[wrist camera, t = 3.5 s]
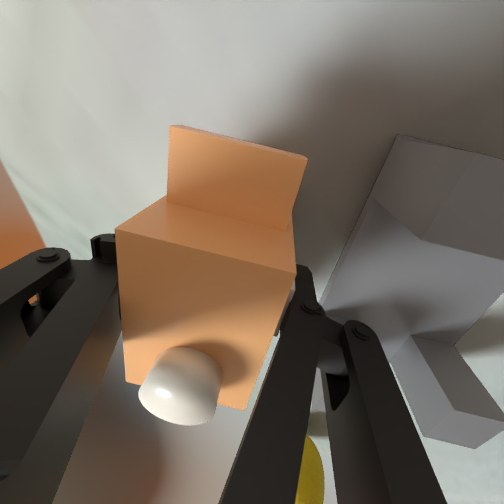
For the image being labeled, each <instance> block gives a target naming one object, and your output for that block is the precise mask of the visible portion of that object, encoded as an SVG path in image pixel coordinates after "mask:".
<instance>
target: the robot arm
mask: <svg viewBox="0 0 504 504" xmlns="http://www.w3.org/2000/svg"><path fill="white" fill-rule="evenodd" d="M90 240H91V248H92V255H93V258H92V259H91V260H71V256H70V253H69V252H68V251H67V250H65V249H62V248H44V249H40V250H37V251H35V252H32V253H30V254H28V255H26V256H24V257H22V258H21V259H19V260H17V261H15V262H13V263H12V264H10V265H8V266H6V267H4V268H2V269H0V504H52V502H53V500H54V497H55V495H56V492H57V490H58V487H59V485H60V482H61V480H62V477H63V475H64V472H65V470H66V467H67V465H68V462H69V460H70V457H71V455H72V452H73V450H74V447H75V445H76V442H77V440H78V437H79V435H80V433H81V430H82V427H83V425H84V423H85V420H86V418H87V415H88V412H89V410H90V408H91V405H92V403H93V400H94V398H95V395H96V393H97V390H98V388H99V385H100V383H101V380H102V378H103V375H104V373H105V370H106V368H107V365H108V363H109V360H110V358H111V355H112V353H113V350H114V348H115V345H116V343H117V340H118V338H119V335H120V333H121V331H122V321H121V308H120V294H119V281H118V267H117V254H116V241H115V234H101V235H98V236H95V237H93V238H92V239H90ZM296 272H297V274H296V277H295V280H294V282H293V285H292V287H291V290H290V293H289V295H288V298H287V301H286V303H285V306H284V309H283V311H282V314H281V317H280V319H279V322H278V324H277V327H276V330H275V332H274V335H273V336H278V333H279V331H280V338H279V341H278V343H277V346H276V348H275V351H274V353H273V357H272V359H271V362H270V365H269V367H268V370H267V373H266V376H265V378H264V381H263V384H262V386H261V389H260V392H259V395H258V397H257V400H256V403H255V405H254V408H253V411H252V414H251V416H250V419H249V422H248V424H247V427H246V430H245V432H244V435H243V438H242V441H241V444H240V446H239V449H238V451H237V454H236V457H235V460H234V462H233V465H232V468H231V470H230V473H229V476H228V479H227V481H226V484H225V487H224V489H223V492H222V495H221V498H220V500H219V503H218V504H295V500H296V494H297V488H298V481H299V475H300V469H301V463H302V456H303V450H304V444H305V438H306V431H307V425H308V419H309V413H310V406H311V400H312V394H313V388H314V381H315V375H316V369H317V368H319V369H320V372H321V380H322V388H323V395H324V403H325V411H326V418H327V426H328V434H329V441H330V449H331V457H332V464H333V471H334V480H335V487H336V495H337V503H338V504H447V502H446V500H445V497H444V495H443V492H442V490H441V488H440V485H439V483H438V480H437V478H436V476H435V473H434V471H433V468H432V466H431V463H430V461H429V459H428V456H427V454H426V451H425V449H424V447H423V444H422V442H421V439H420V437H419V435H418V432H417V430H416V427H415V425H414V423H413V420H412V418H411V415H410V413H409V411H408V408H407V406H406V403H405V401H404V399H403V396H402V394H401V391H400V389H399V387H398V384H397V382H396V379H395V377H394V374H393V372H392V370H391V367H390V365H389V362H388V360H387V358H386V355H385V353H384V350H383V348H382V346H381V343H380V341H379V338H378V336H377V335H376V333H375V332H374V331H373V330H372V329H371V328H370V327H369V326H367V325H366V324H364V323H362V322H360V321H357V320H348V321H346V323H345V324H344V325H342V324H340V323H338V322H336V321H334V320H332V319H330V318H328V317H327V316H326V315H325V310H324V309H323V307H322V306H321V305H320V304H319V303H318V302H317V299H316V294H315V288H314V282H313V277H312V273H311V271H310V270H309V269H308V267H306V266H302V265H298V264H296ZM34 295H36V297H37V301H35V302H34V303H32V304H29V301H28V300H29V299H30V298H31V297H33V296H34Z"/></svg>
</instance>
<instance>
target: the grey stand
mask: <svg viewBox="0 0 504 504" xmlns="http://www.w3.org/2000/svg"><path fill="white" fill-rule="evenodd" d="M503 292H504V160H503V159H500V158H496V157H492V156H488V155H484V154H480V153H475V152H469V151H465V150H461V149H457V148H453V147H449V146H445V145H441V144H437V143H433V142H429V141H425V140H421V139H417V138H413V137H409V136H405V135H399V134H398V135H397V137H396V139H395V141H394V144H393V146H392V148H391V150H390V152H389V154H388V156H387V158H386V161H385V163H384V165H383V167H382V169H381V171H380V173H379V175H378V178H377V180H376V182H375V184H374V186H373V188H372V190H371V193H370V195H369V197H368V199H367V201H366V203H365V205H364V207H363V210H362V212H361V214H360V216H359V218H358V220H357V222H356V224H355V227H354V229H353V231H352V233H351V235H350V237H349V239H348V242H347V244H346V246H345V248H344V250H343V252H342V254H341V256H340V259H339V261H338V263H337V265H336V267H335V269H334V271H333V273H332V276H331V278H330V280H329V282H328V284H327V286H326V288H325V290H324V293H323V295H322V297H321V299H320V301H319V304H320V305H321V306H322V307H323V309H324V310H325V315H326V316H327V317H328V318H330V319H332V320H334V321H336V322H338V323H340V324H342V325H344V324H345V323H346V321H348V320H357V321H360V322H362V323H364V324H366V325H367V326H369V327H370V328H371V329H372V330H373V331H374V332H375V333H376V335H377V336H378V338H379V341H380V343H381V346H382V348H383V350H384V353H385V355H386V358H387V360H388V362H390V363H391V364H392V367H393V369H394V371H395V373H396V376H397V378H398V380H399V383H400V385H401V387H402V389H403V392H404V394H405V396H406V399H407V401H408V403H409V405H410V408H411V410H412V412H413V414H414V417H415V419H416V421H417V424H418V426H419V428H420V430H421V433H422V435H423V436H424V437H428V438H432V439H436V440H440V441H444V442H448V443H452V444H456V445H460V446H464V447H469V448H473V449H476V448H477V447H479V446H480V445H482V444H483V443H485V442H486V441H488V440H489V439H491V438H492V437H494V436H495V435H497V434H498V433H500V432H501V431H503V430H504V413H503V411H502V410H501V409H500V407H499V406H498V405H497V403H496V402H495V401H494V399H493V398H492V397H491V395H490V394H489V393H488V391H487V390H486V389H485V387H484V386H483V385H482V383H481V382H480V381H479V379H478V378H477V377H476V375H475V374H474V373H473V371H472V370H471V369H470V367H469V366H468V365H467V363H466V362H465V361H464V359H463V358H462V357H461V355H460V354H459V353H458V351H457V350H456V349H455V347H454V346H453V345H454V344H455V343H456V342H457V341H458V340H459V339H460V338H461V336H462V335H463V334H464V333H465V332H466V331H467V330H468V329H469V328H470V327H471V326H472V325H473V324H474V323H475V322H476V321H477V320H478V319H479V318H480V316H481V315H482V314H483V313H484V312H485V311H486V310H487V309H488V308H489V307H490V306H491V305H492V304H493V303H494V302H495V301H496V300H497V299H498V297H499V296H500V295H501V294H502V293H503ZM312 408H313V409H314V410H318V411H322V412H326V411H325V403H324V395H323V388H322V380H321V372H320V369H319V368H317V369H316V375H315V381H314V388H313V394H312Z"/></svg>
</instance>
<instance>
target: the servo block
mask: <svg viewBox="0 0 504 504" xmlns="http://www.w3.org/2000/svg"><path fill="white" fill-rule="evenodd" d="M307 161H308V160H307V158H306V156H304V155H300V154H296V153H292V152H288V151H284V150H280V149H276V148H272V147H268V146H264V145H260V144H256V143H252V142H248V141H244V140H240V139H236V138H232V137H228V136H224V135H220V134H216V133H212V132H208V131H204V130H200V129H196V128H192V127H188V126H184V125H173V126H170V135H169V159H168V183H167V195H166V196H164V197H163V198H161V199H160V200H158V201H156V202H155V203H153V204H152V205H150V206H149V207H147V208H146V209H144V210H143V211H141V212H139V213H138V214H136V215H135V216H133V217H132V218H130V219H129V220H127V221H126V222H124V223H122V224H121V225H119V226H118V227H116V228H115V241H116V254H117V267H118V281H119V294H120V308H121V321H122V334H123V347H124V360H125V374H126V382H130V383H134V384H138V385H142V386H141V388H140V390H139V399H140V401H141V403H142V405H143V406H144V407H145V408H146V409H147V410H148V411H149V412H151V413H152V414H154V415H155V416H157V417H159V418H161V419H163V420H165V421H168V422H171V423H175V424H181V425H199V424H203V423H206V422H208V421H209V420H211V419H212V418H213V416H214V414H215V410H216V406H217V404H220V405H224V406H228V407H232V408H237V409H240V410H245V409H246V406H247V404H248V401H249V398H250V396H251V393H252V391H253V388H254V385H255V383H256V380H257V377H258V375H259V372H260V369H261V367H262V364H263V361H264V359H265V356H266V354H267V351H268V348H269V346H270V343H271V340H272V338H273V335H274V332H275V330H276V327H277V324H278V322H279V319H280V317H281V314H282V311H283V309H284V306H285V303H286V301H287V298H288V295H289V293H290V290H291V287H292V285H293V282H294V280H295V277H296V274H297V272H296V260H295V248H294V236H293V223H292V209H293V206H294V202H295V199H296V196H297V193H298V190H299V187H300V183H301V180H302V177H303V174H304V171H305V168H306V164H307Z"/></svg>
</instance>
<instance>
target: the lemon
mask: <svg viewBox="0 0 504 504" xmlns="http://www.w3.org/2000/svg"><path fill="white" fill-rule="evenodd" d="M323 500H324V471H323V465H322V461H321V457H320V454H319V452H318V450H317V448H316V446H315V444H314V443H313V441H312V440H311V439H310V438H309V437H308V436H307V435H306V438H305V444H304V450H303V456H302V463H301V469H300V475H299V481H298V488H297V494H296V500H295V504H323Z"/></svg>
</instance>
